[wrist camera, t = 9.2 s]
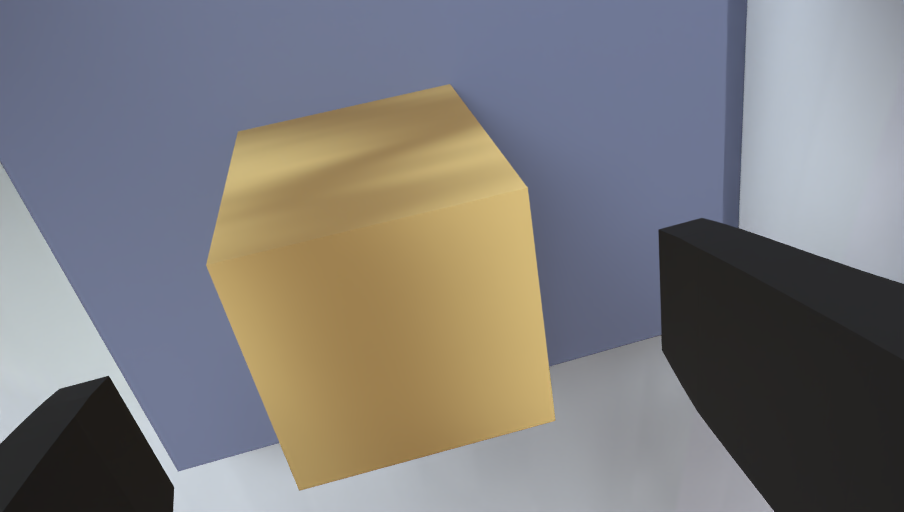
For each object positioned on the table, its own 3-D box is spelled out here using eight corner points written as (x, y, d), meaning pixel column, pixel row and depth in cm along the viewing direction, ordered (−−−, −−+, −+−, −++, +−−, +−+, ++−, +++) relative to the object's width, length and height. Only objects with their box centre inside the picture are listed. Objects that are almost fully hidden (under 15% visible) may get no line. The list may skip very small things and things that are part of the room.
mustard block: (449, 83, 13) (527, 187, 8) (480, 263, 15) (555, 420, 10) (237, 131, 12) (205, 265, 8) (298, 308, 14) (299, 490, 10)
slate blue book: (670, -195, 14) (754, -211, 11) (677, 256, 19) (735, 313, 17) (-25, -42, 13) (-106, -23, 10) (195, 388, 18) (178, 471, 16)
